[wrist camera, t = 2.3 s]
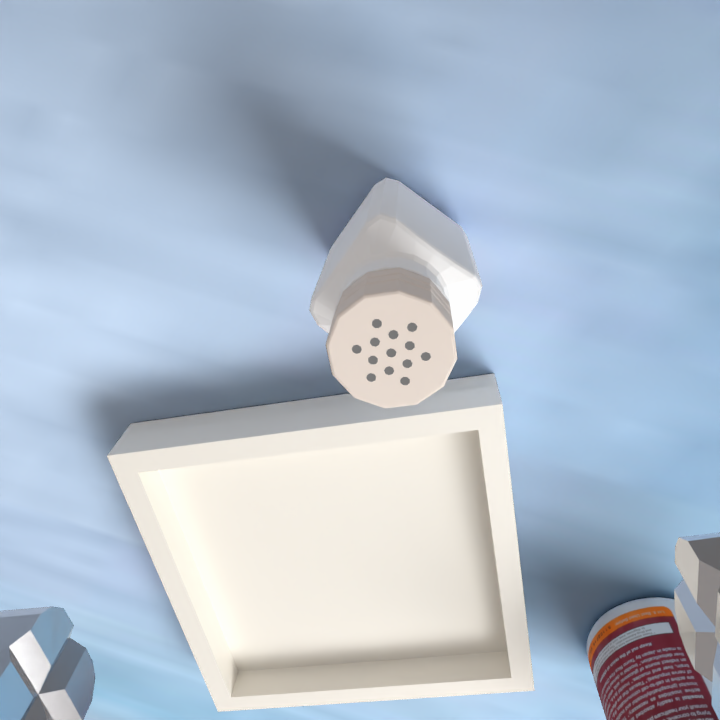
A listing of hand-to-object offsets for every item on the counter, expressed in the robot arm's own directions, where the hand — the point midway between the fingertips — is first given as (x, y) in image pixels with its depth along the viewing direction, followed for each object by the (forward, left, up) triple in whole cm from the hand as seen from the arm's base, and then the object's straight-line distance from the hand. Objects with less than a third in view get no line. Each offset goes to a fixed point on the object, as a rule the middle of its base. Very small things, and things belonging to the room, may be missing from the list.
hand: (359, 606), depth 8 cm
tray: (+5, +14, -17) cm, 23 cm away
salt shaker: (0, 0, -18) cm, 18 cm away
